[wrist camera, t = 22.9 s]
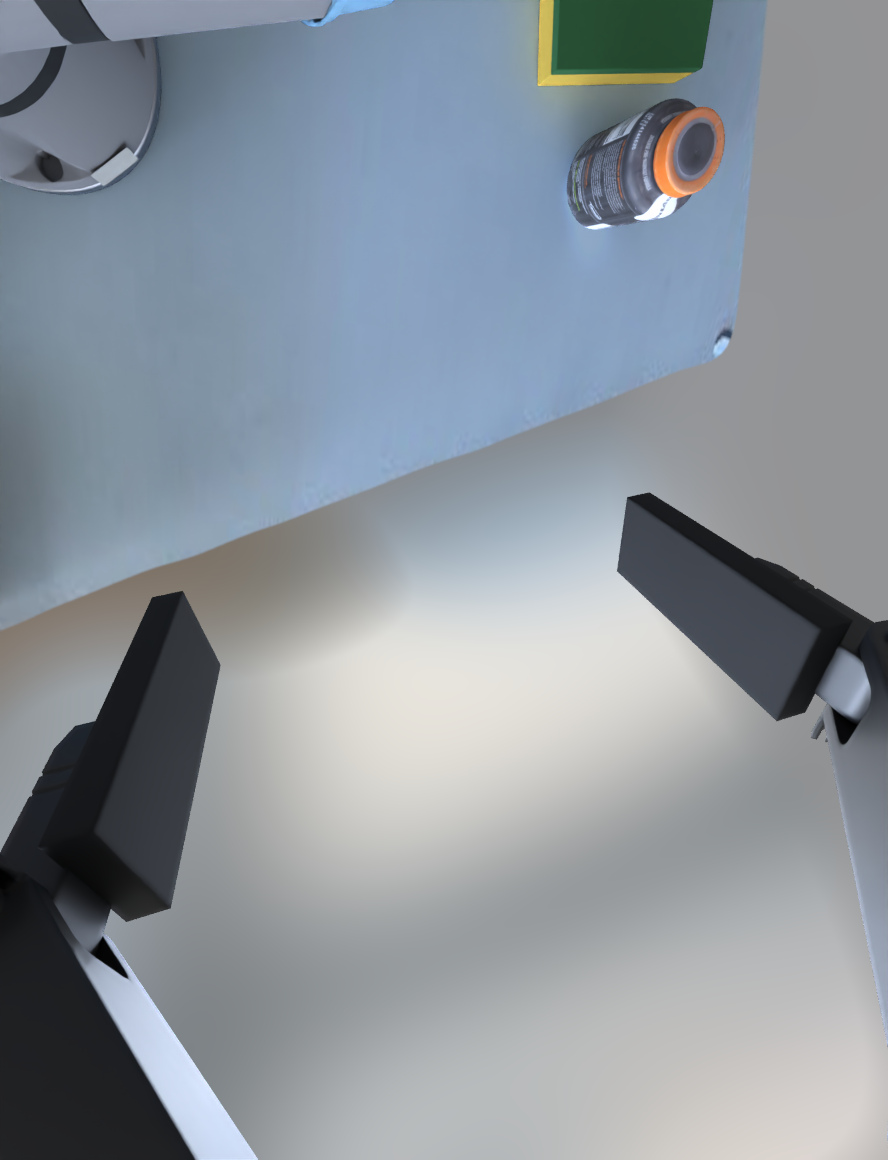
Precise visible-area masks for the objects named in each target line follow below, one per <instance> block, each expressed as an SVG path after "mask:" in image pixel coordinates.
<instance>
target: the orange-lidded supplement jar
mask: <svg viewBox="0 0 888 1160" xmlns="http://www.w3.org/2000/svg"><path fill="white" fill-rule="evenodd" d="M724 142H725V134H724V127H723V123H722V121H721V118H720V117H719V115H718V114H717V113H716V112H715V111H714V110H713V109H711V108H708V107H698V108H697V107H696V106H695V105H693V104H692V103H691V102H689V101H687V100H683V99H669V100H665V101H663V102H660V103H658V104H657V105H654V106H653V107H651V108H649V109H647V110H644V111H642V112H641V113H638V114H636V115H634V116H632V117H630V118H629V119H627V120H624V121H623V122H621V123H618V124H617V125H615V126H612V127H610V128H608V129H607V130H604V131H602V132H600V133H598V134H596V135H594V136H593V137H591V138H590V139H589V140H587V141H586V142H585V143H584V144H583V145H582V147H581V148H580V149H579V151H578V152H577V154H576V156H575V158H574V160H573V162H572V164H571V167H570V171H569V175H568V181H567V197H568V204H569V206H570V209H571V211H572V214H573V215H574V217H575V218H576V220H577V221H578V222H579V223H580V224H581V225H583V226H584V227H586V228H590V229H603V228H609V227H614V226H620V225H626V224H631V223H637V222H643V221H648V220H652V219H658V218H662V217H665V216H668V215H670V214H672V213H674V212H675V211H677V210H678V209H679V208H680V207H682V206H683V205H684V204H685V203H686V202H687V200H688V199H689V198H690V197H691V195H692V194H693V193H695V192H697V191H699V190H701V189H702V188H703V187H704V186H705V185H706V184H707V183H708V182H709V181H710V180H711V179H712V177H713V176H714V174H715V172H716V170H717V168H718V166H719V164H720V162H721V158H722V155H723V150H724Z"/></svg>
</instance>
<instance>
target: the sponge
mask: <svg viewBox="0 0 888 1160" xmlns="http://www.w3.org/2000/svg"><path fill="white" fill-rule="evenodd" d="M712 5H713V0H540V16H539V52H538V86H561V85H610V84H659V83H675V82H677V81H679V80H680V79H682V78H684V77H686V76H688V75H690V74H692V73H694V72H696V71H698V70H699V69H701V68H702V66H703V60H704V54H705V48H706V42H707V36H708V29H709V23H710V17H711V11H712Z"/></svg>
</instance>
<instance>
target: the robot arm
mask: <svg viewBox="0 0 888 1160" xmlns="http://www.w3.org/2000/svg"><path fill="white" fill-rule="evenodd" d="M393 1H394V0H0V179H2V180H5V181H7V182H10V183H13V184H16V185H19V186H22V187H25V188H29V189H32V190H36V191H40V192H45V193H51V194H60V195H77V194H86V193H91V192H95V191H99V190H101V189H104V188H106V187H109V186H111V185H113V184H114V183H116V182H118V181H120V180H121V179H122V178H124V177H125V176H126V175H127V174H129V173H130V172H131V171H132V170H133V169H134V167H135V166H136V165H137V164H138V163H139V161H140V160H141V159H142V157H143V156H144V154H145V152H146V150H147V149H148V147H149V145H150V142H151V140H152V137H153V135H154V132H155V128H156V125H157V121H158V116H159V110H160V101H161V69H160V59H159V52H158V46H157V40H156V37H157V36H166V35H175V34H184V33H193V32H202V31H211V30H219V29H228V28H237V27H246V26H255V25H264V24H273V23H282V22H291V21H300V20H301V21H302V22H303V23H304V24H305V25H309V26H323V25H325V23H326V22H330V21H333V20H334V19H335V18H336V17H337V16H338V15H341V14H346V13H351V12H357V11H362V10H368V9H373V8H379V7H383V6H386V5H388V4H391V3H392V2H393ZM617 571H618V572H619V573H620V574H621V575H622V576H623V577H624V578H625V579H626V580H627V581H628V582H629V583H630V584H632V585H633V586H634V587H635V588H636V589H637V590H638V591H639V592H640V593H641V594H642V595H643V596H644V597H645V598H646V599H647V600H649V601H650V602H651V603H652V604H653V605H654V606H655V607H656V608H657V609H658V610H659V611H660V612H661V613H662V614H663V615H664V616H666V617H667V618H668V619H669V620H670V621H671V622H672V623H673V624H674V625H675V626H676V627H677V628H678V629H680V631H681V632H683V633H684V634H685V635H686V636H687V637H688V638H689V639H690V640H691V641H692V642H693V643H694V644H695V645H696V646H698V648H700V649H701V650H702V651H703V652H704V653H705V654H706V655H707V656H708V657H709V658H710V659H711V660H712V661H713V662H714V663H716V664H717V665H718V666H719V667H720V668H721V669H722V670H723V671H724V672H725V673H726V674H727V675H728V676H729V677H730V678H731V679H733V680H734V681H735V682H736V683H737V684H738V685H739V686H740V687H741V688H742V689H743V690H744V691H745V692H747V694H749V695H750V696H751V697H752V698H753V699H754V700H755V701H756V702H757V703H758V704H759V705H760V706H761V707H762V708H763V709H764V710H766V711H767V712H768V713H769V714H770V715H771V716H772V717H773V718H774V719H775V720H776V721H779V720H782V719H785V718H788V717H792V716H795V715H798V714H801V713H805V712H806V710H807V708H808V706H809V704H810V702H811V700H812V698H813V696H814V694H817V695H818V696H819V697H820V698H821V699H823V700H824V701H825V702H826V703H827V705H826V706H825V708H824V710H823V712H822V713H821V716H820V717H819V719H818V721H817V723H816V724H815V726H814V728H813V730H812V734H811V738H813V739H817V738H818V736H819V735H820V733H821V731H822V730H823V729H825V730H826V735H827V738H826V740H825V741H826V742H828V745H829V750H830V755H831V760H832V765H833V771H834V776H835V781H836V785H837V791H838V796H839V801H840V806H841V811H842V816H843V821H844V827H845V831H846V837H847V841H848V847H849V852H850V857H851V862H852V867H853V872H854V877H855V882H856V887H857V893H858V897H859V903H860V907H861V913H862V917H863V923H864V928H865V933H866V938H867V944H868V948H869V953H870V959H871V964H872V968H873V974H874V979H875V984H876V989H877V994H878V1000H879V1005H880V1009H881V1015H882V1020H883V1025H884V1030H885V1035H886V1040H887V1045H888V620H886V621H881V622H875V623H874V622H872V621H871V620H869V619H867V618H866V617H864V616H862V615H860V614H859V613H857V612H856V611H854V610H853V609H851V608H849V607H848V606H846V605H844V604H842V603H841V602H839V601H838V600H836V599H834V598H833V597H831V596H829V595H828V594H826V593H824V592H823V591H821V590H820V589H815V588H814V586H813V585H811V584H810V583H808V582H806V581H805V580H803V579H802V580H800V579H799V577H798V576H797V575H795V574H793V573H792V572H790V571H788V570H787V569H785V568H783V567H782V566H780V565H777V564H774V563H771V562H768V561H766V560H763V559H760V558H753V557H751V556H750V555H748V554H747V553H745V552H743V551H742V550H740V549H739V548H737V547H736V546H734V545H732V544H731V543H729V542H728V541H726V540H724V539H723V538H721V537H720V536H718V535H716V534H715V533H713V532H712V531H710V530H708V529H707V528H705V527H704V526H702V525H700V524H699V523H697V522H696V521H694V520H692V519H691V518H689V517H688V516H686V515H684V514H683V513H681V512H679V511H678V510H676V509H675V508H673V507H672V506H670V505H669V504H667V503H665V502H664V501H662V500H660V499H659V498H657V497H656V496H654V495H652V494H651V493H645V494H640V495H636V496H631V497H627V503H626V510H625V518H624V525H623V532H622V539H621V546H620V554H619V561H618V569H617ZM219 670H220V663H219V661H218V659H217V657H216V655H215V653H214V651H213V649H212V647H211V645H210V643H209V642H208V640H207V638H206V636H205V634H204V632H203V630H202V628H201V626H200V624H199V622H198V620H197V618H196V616H195V614H194V612H193V610H192V608H191V606H190V604H189V602H188V600H187V598H186V596H185V594H184V593H183V591H180V592H175V593H171V594H166V595H161V596H156V597H153V598H152V599H151V601H150V603H149V606H148V608H147V610H146V612H145V614H144V617H143V619H142V621H141V623H140V625H139V627H138V630H137V632H136V634H135V636H134V638H133V640H132V643H131V645H130V647H129V649H128V652H127V654H126V656H125V658H124V660H123V662H122V665H121V667H120V669H119V671H118V673H117V675H116V678H115V680H114V682H113V684H112V686H111V689H110V691H109V693H108V695H107V697H106V699H105V702H104V704H103V706H102V708H101V710H100V713H99V715H98V717H97V719H96V721H94V722H90V723H86V724H82V725H78V726H75V727H74V728H73V729H72V730H71V731H70V732H69V733H68V734H67V735H66V737H65V738H64V739H63V740H62V741H61V742H60V743H59V744H58V745H57V746H56V747H55V748H54V750H53V752H52V754H51V756H50V758H49V760H48V762H47V764H46V765H45V768H44V769H43V771H42V773H43V776H41V777H39V779H38V781H37V783H36V785H35V787H34V789H33V790H32V794H33V795H32V796H31V797H29V798H28V800H27V802H26V804H25V806H24V808H23V810H22V812H21V814H20V816H19V817H18V820H17V821H16V823H15V825H14V827H13V829H12V831H11V833H10V835H9V837H8V839H7V841H6V842H5V844H4V846H3V848H2V850H1V852H0V1160H258V1159H257V1157H256V1156H255V1154H254V1153H253V1151H252V1150H251V1148H250V1147H249V1145H248V1144H247V1142H246V1141H245V1139H244V1138H243V1136H242V1135H241V1133H240V1132H239V1130H238V1129H237V1128H236V1126H235V1124H234V1123H233V1121H232V1120H231V1118H230V1117H229V1115H228V1114H227V1112H226V1111H225V1109H224V1108H223V1106H222V1105H221V1103H220V1102H219V1100H218V1099H217V1097H216V1096H215V1094H214V1093H213V1091H212V1090H211V1088H210V1087H209V1085H208V1084H207V1082H206V1081H205V1079H204V1078H203V1076H202V1075H201V1073H200V1072H199V1070H198V1069H197V1067H196V1066H195V1064H194V1063H193V1061H192V1060H191V1058H190V1057H189V1055H188V1054H187V1052H186V1051H185V1050H184V1048H183V1046H182V1045H181V1043H180V1042H179V1041H178V1039H177V1037H176V1036H175V1034H174V1033H173V1031H172V1030H171V1028H170V1027H169V1025H168V1024H167V1022H166V1021H165V1019H164V1018H163V1016H162V1015H161V1013H160V1012H159V1010H158V1009H157V1007H156V1006H155V1004H154V1003H153V1001H152V1000H151V998H150V997H149V995H148V994H147V992H146V991H145V989H144V988H143V986H142V985H141V983H140V982H139V981H138V979H137V977H136V976H135V974H134V973H133V971H132V970H131V968H130V967H129V965H128V964H127V962H126V961H125V959H124V958H123V956H122V955H121V953H120V952H119V950H118V949H117V947H116V946H115V944H114V943H113V941H112V940H111V939H110V938H109V937H108V936H106V935H105V934H104V929H105V926H106V923H107V919H108V916H109V913H110V909H112V910H113V911H114V912H115V913H117V914H118V915H119V916H120V917H121V918H122V919H124V920H125V921H126V922H127V921H131V920H134V919H137V918H140V917H144V916H147V915H150V914H154V913H157V912H160V911H163V910H166V909H170V908H171V904H172V899H173V894H174V889H175V884H176V879H177V875H178V870H179V865H180V860H181V855H182V850H183V845H184V840H185V836H186V831H187V826H188V821H189V816H190V811H191V806H192V801H193V797H194V792H195V787H196V782H197V777H198V772H199V767H200V762H201V757H202V752H203V748H204V742H205V738H206V733H207V728H208V723H209V719H210V713H211V708H212V704H213V699H214V694H215V689H216V685H217V680H218V674H219ZM887 1137H888V1135H887Z"/></svg>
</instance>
